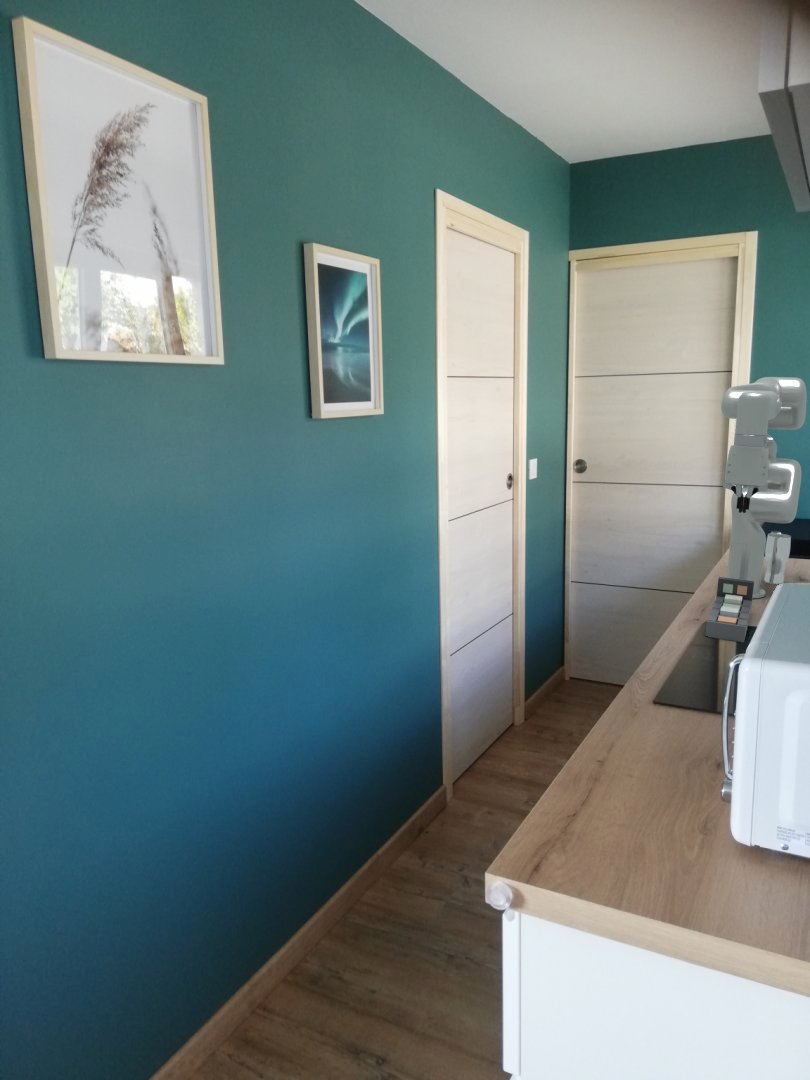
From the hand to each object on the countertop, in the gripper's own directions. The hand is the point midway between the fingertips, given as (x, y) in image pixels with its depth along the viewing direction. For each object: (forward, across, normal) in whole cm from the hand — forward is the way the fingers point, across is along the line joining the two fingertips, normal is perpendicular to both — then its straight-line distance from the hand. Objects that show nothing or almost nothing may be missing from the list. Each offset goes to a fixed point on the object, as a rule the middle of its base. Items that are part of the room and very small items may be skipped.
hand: (742, 511), depth 209 cm
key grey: (+26, 0, +10) cm, 27 cm away
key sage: (+26, 0, +3) cm, 27 cm away
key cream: (+26, 0, -3) cm, 26 cm away
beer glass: (+29, -9, -46) cm, 55 cm away
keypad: (+29, 0, +6) cm, 30 cm away
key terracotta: (+26, 0, +16) cm, 31 cm away
